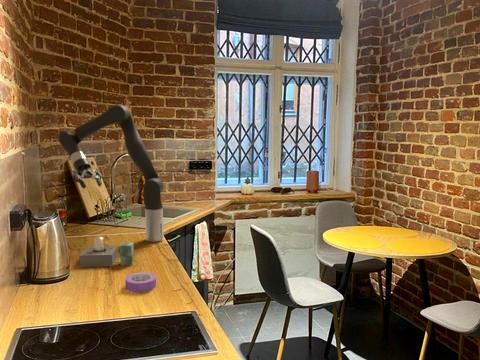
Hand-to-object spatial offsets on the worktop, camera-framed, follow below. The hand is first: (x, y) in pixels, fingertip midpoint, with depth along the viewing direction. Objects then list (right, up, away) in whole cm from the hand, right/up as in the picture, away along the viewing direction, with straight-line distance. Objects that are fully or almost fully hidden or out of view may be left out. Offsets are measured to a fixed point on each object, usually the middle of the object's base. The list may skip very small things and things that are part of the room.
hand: (92, 186), depth 219 cm
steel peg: (+10, -34, -20) cm, 40 cm away
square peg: (+23, -34, -23) cm, 47 cm away
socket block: (+10, -34, -20) cm, 40 cm away
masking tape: (+36, -39, -49) cm, 72 cm away
